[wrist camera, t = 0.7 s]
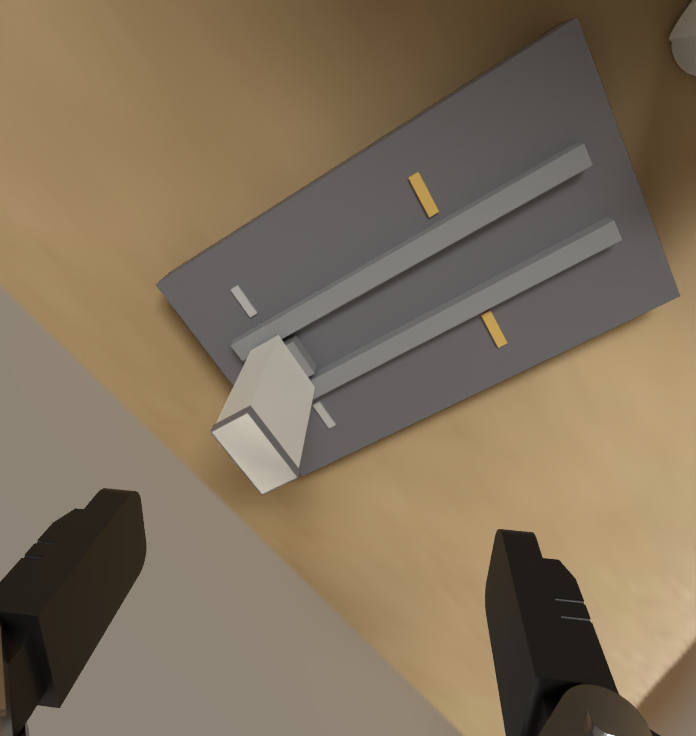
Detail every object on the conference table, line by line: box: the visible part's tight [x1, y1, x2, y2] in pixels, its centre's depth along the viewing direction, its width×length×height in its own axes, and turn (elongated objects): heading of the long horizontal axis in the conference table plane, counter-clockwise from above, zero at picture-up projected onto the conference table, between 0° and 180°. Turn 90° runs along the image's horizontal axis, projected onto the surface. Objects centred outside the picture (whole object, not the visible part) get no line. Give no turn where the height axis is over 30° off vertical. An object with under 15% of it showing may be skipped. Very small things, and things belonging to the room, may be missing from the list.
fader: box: [210, 334, 317, 495], centre depth 30 cm, size 4×3×10 cm
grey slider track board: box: [156, 17, 680, 476], centre depth 33 cm, size 16×26×4 cm, turn 121°
